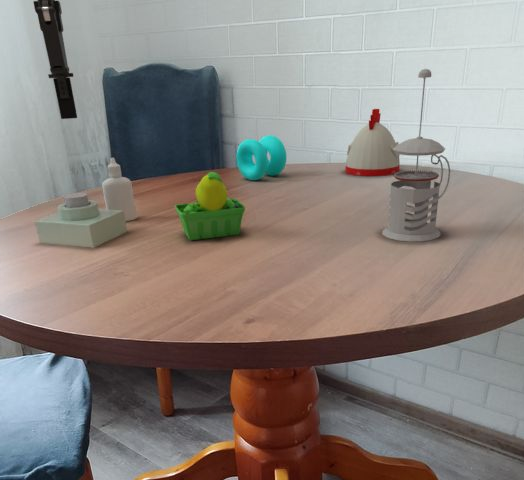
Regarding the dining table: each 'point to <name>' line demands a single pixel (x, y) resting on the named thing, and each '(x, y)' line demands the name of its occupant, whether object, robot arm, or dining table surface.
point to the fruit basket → (211, 211)
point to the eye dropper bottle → (119, 192)
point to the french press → (415, 190)
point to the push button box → (81, 226)
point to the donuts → (261, 157)
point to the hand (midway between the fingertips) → (69, 118)
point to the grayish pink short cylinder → (76, 200)
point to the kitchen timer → (372, 150)
